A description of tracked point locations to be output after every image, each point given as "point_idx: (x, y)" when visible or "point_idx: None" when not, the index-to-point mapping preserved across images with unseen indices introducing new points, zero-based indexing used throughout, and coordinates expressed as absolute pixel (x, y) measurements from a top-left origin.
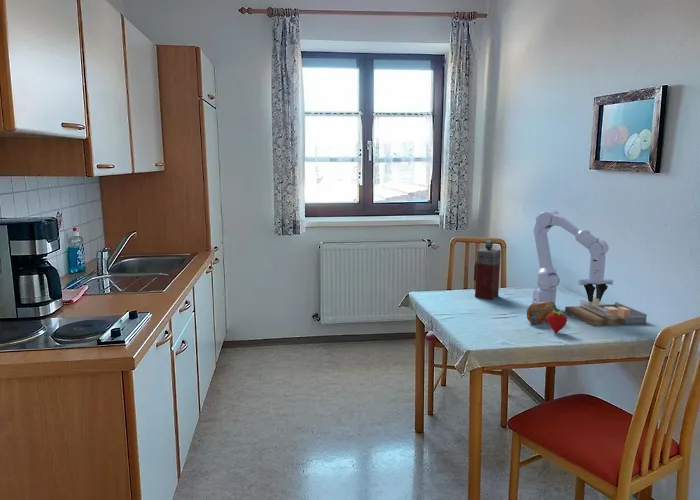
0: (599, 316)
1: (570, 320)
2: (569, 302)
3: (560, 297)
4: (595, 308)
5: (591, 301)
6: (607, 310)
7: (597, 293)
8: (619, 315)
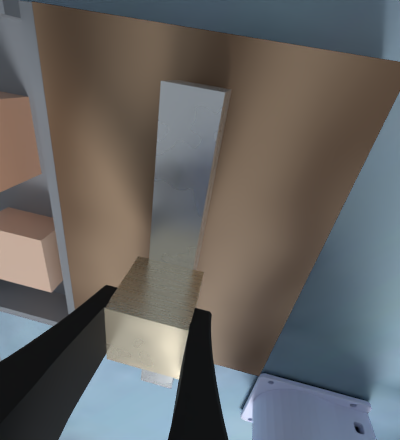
0: (223, 141)
1: (392, 236)
2: (128, 401)
3: (122, 434)
4: (201, 231)
5: (205, 313)
6: (163, 84)
7: (70, 396)
8: (21, 155)
